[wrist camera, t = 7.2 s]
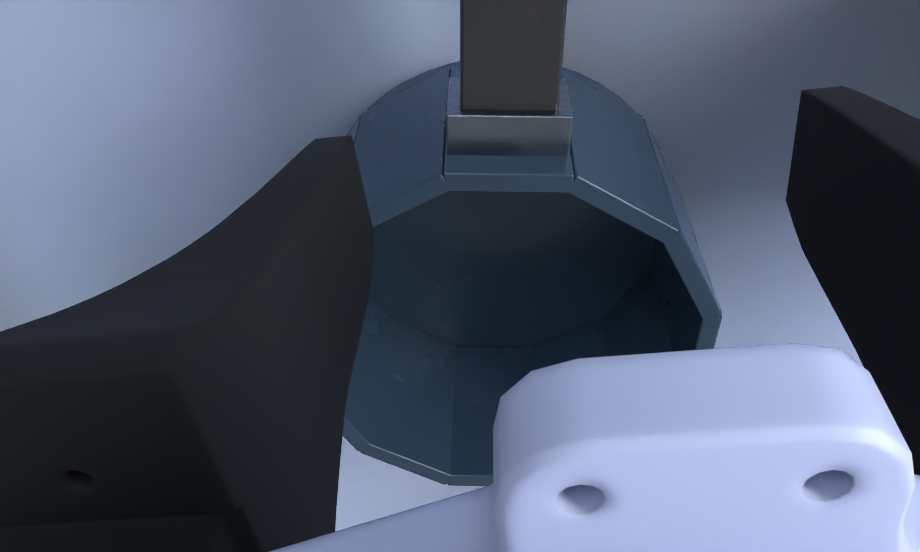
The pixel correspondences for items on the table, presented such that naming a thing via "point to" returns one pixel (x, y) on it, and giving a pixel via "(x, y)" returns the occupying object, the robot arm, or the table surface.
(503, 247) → the saucepan
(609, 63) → the table surface
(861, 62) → the table surface
